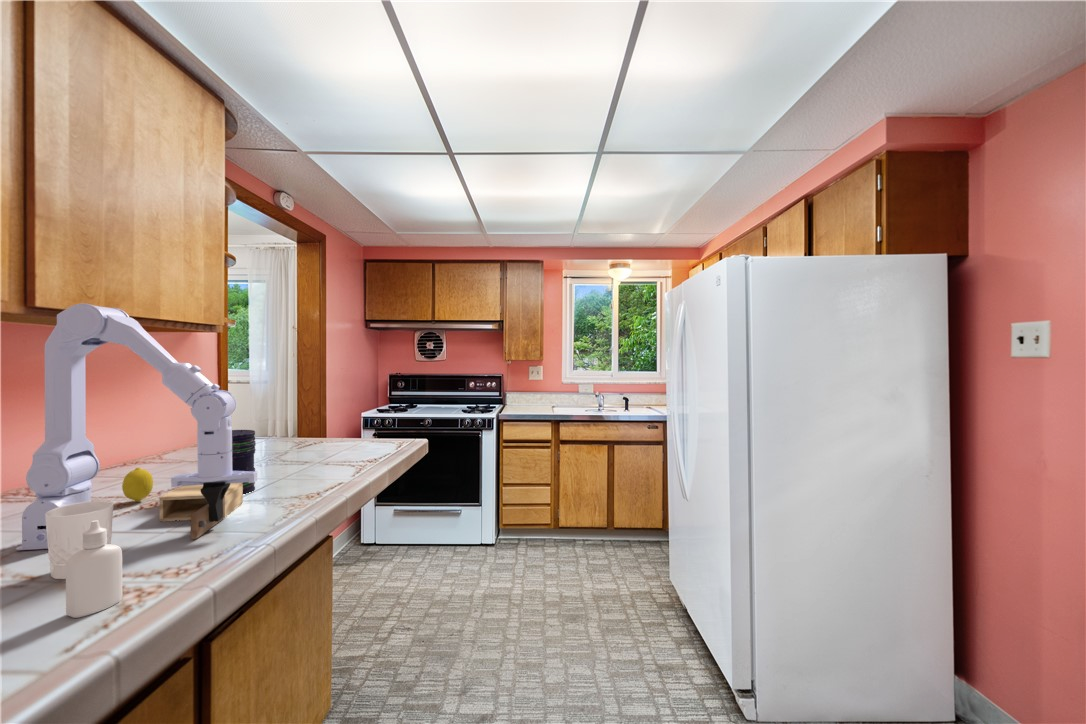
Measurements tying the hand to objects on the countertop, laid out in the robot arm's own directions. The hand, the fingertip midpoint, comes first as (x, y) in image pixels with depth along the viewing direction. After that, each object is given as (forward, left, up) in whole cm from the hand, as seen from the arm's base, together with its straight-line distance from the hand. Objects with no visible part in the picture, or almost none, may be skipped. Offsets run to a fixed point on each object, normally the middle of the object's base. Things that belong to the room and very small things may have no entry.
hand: (215, 520), depth 97 cm
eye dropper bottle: (-31, +3, -2) cm, 31 cm away
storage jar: (+27, +7, -2) cm, 28 cm away
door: (0, +1, -1) cm, 2 cm away
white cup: (-17, +13, -2) cm, 21 cm away
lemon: (+22, +25, -2) cm, 34 cm away
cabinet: (+11, +7, -2) cm, 14 cm away
